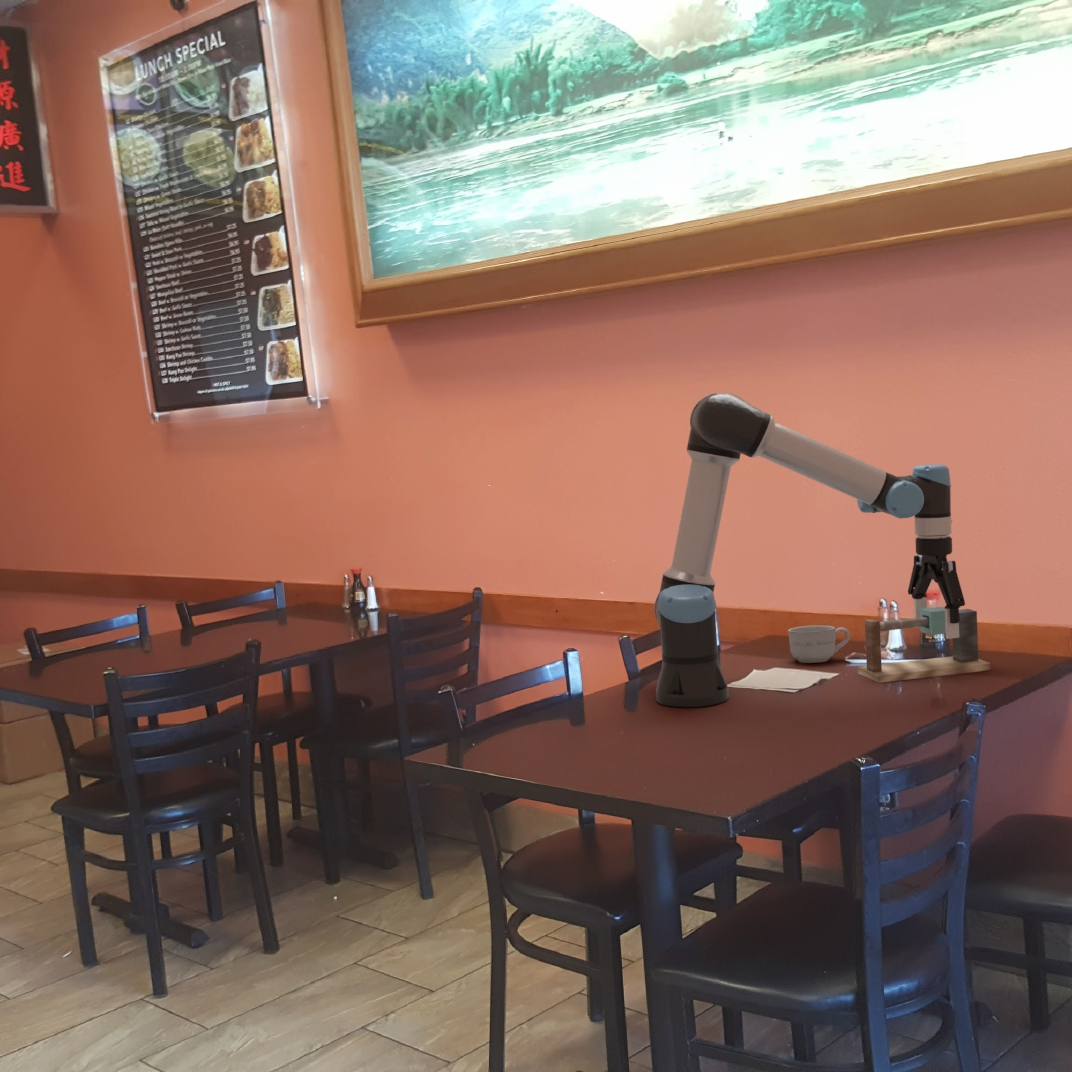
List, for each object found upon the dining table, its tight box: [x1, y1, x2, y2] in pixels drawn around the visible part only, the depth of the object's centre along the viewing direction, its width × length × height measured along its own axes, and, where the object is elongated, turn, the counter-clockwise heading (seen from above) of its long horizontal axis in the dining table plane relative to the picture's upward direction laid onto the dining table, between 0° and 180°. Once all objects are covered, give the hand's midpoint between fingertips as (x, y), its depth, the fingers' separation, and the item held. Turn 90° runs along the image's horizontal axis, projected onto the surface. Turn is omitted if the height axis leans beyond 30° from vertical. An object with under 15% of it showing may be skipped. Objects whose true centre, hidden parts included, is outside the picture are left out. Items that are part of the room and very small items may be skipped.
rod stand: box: [857, 608, 992, 683], centre depth 261 cm, size 26×10×12 cm, turn 100°
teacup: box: [787, 625, 851, 664], centre depth 279 cm, size 14×11×8 cm
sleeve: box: [920, 606, 946, 636], centre depth 261 cm, size 5×5×5 cm
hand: (936, 632), depth 261 cm, fingers open, 13 cm apart
